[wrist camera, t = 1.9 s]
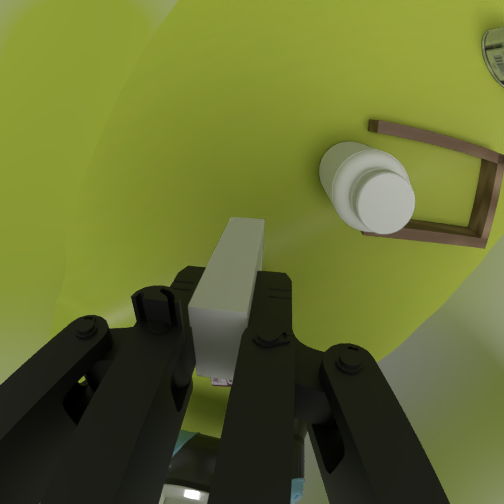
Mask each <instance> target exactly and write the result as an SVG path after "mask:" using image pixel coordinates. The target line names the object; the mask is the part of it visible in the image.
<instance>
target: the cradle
mask: <svg viewBox="0 0 504 504" xmlns="http://www.w3.org/2000/svg"><path fill="white" fill-rule="evenodd" d="M368 131H371V132H376V133H381V134H386V135H392V136H397V137H402V138H407V139H411V140H416V141H420V142H424V143H429V144H433V145H437V146H441V147H445V148H448V149H452V150H456V151H459V152H463V153H466V154H469V155H473V156H476V157H479V158H482V163H481V170H480V175H479V181H478V186H477V191H476V196H475V201H474V206H473V210H472V214H471V218H470V222H469V226H468V228H467V227H461V226H454V225H448V224H441V223H434V222H427V221H419V220H412V219H410V220H409V222H408V223H407V224H406V225H405V226H404V227H403V228H402V229H400V230H398V231H397V232H394V233H391V234H378V233H375V232H365V231H361V232H362V234H363V235H366V236H376V237H386V238H396V239H406V240H416V241H425V242H434V243H443V244H451V245H460V246H468V247H476V248H484V249H485V247H486V244H487V240H488V237H489V234H490V230H491V226H492V223H493V219H494V215H495V211H496V207H497V202H498V198H499V193H500V188H501V183H502V177H503V172H504V155H503V154H500V153H497V152H495V151H492V150H489V149H486V148H483V147H481V146H478V145H475V144H472V143H468V142H465V141H462V140H459V139H455V138H452V137H449V136H445V135H441V134H438V133H434V132H430V131H426V130H422V129H418V128H414V127H409V126H405V125H400V124H396V123H391V122H386V121H380V120H370V119H369V126H368Z"/></svg>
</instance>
